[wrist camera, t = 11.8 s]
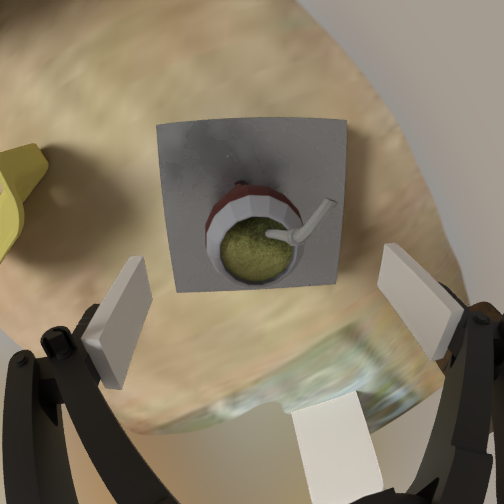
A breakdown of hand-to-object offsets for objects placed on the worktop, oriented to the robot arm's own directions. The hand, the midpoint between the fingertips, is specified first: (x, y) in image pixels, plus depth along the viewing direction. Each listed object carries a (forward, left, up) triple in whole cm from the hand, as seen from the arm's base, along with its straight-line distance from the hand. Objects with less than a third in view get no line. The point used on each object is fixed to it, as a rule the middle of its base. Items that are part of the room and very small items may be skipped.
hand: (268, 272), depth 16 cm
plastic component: (0, -29, -16) cm, 33 cm away
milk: (+40, +13, -16) cm, 45 cm away
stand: (0, 0, -15) cm, 15 cm away
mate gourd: (0, 0, -11) cm, 11 cm away
